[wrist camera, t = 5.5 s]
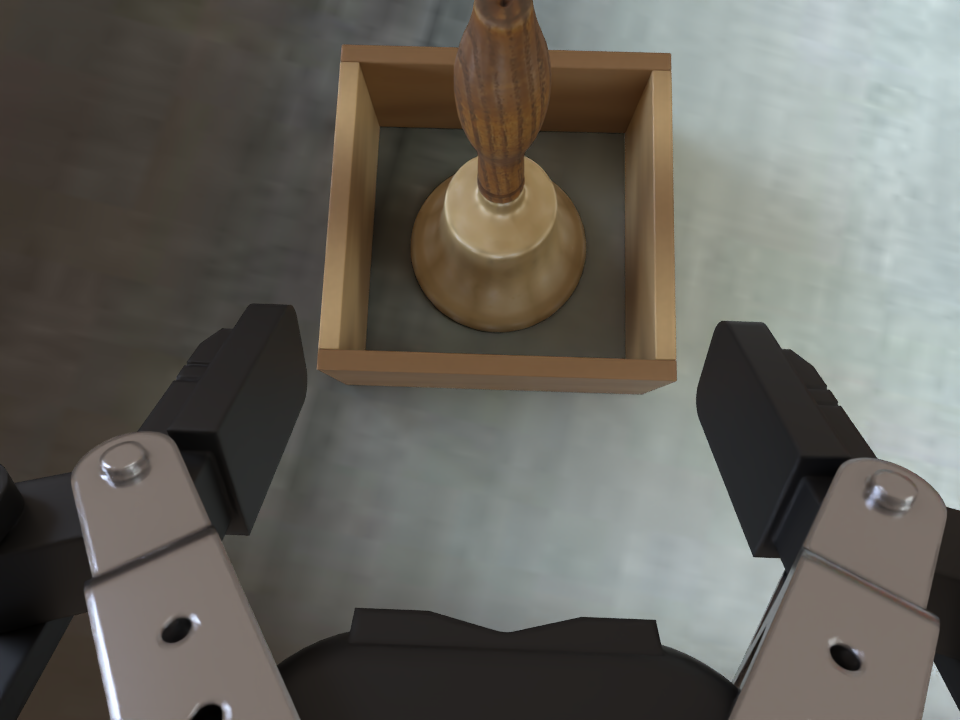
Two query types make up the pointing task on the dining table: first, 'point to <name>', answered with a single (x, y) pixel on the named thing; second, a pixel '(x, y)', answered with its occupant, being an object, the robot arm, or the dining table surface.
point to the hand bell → (499, 187)
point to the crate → (572, 108)
